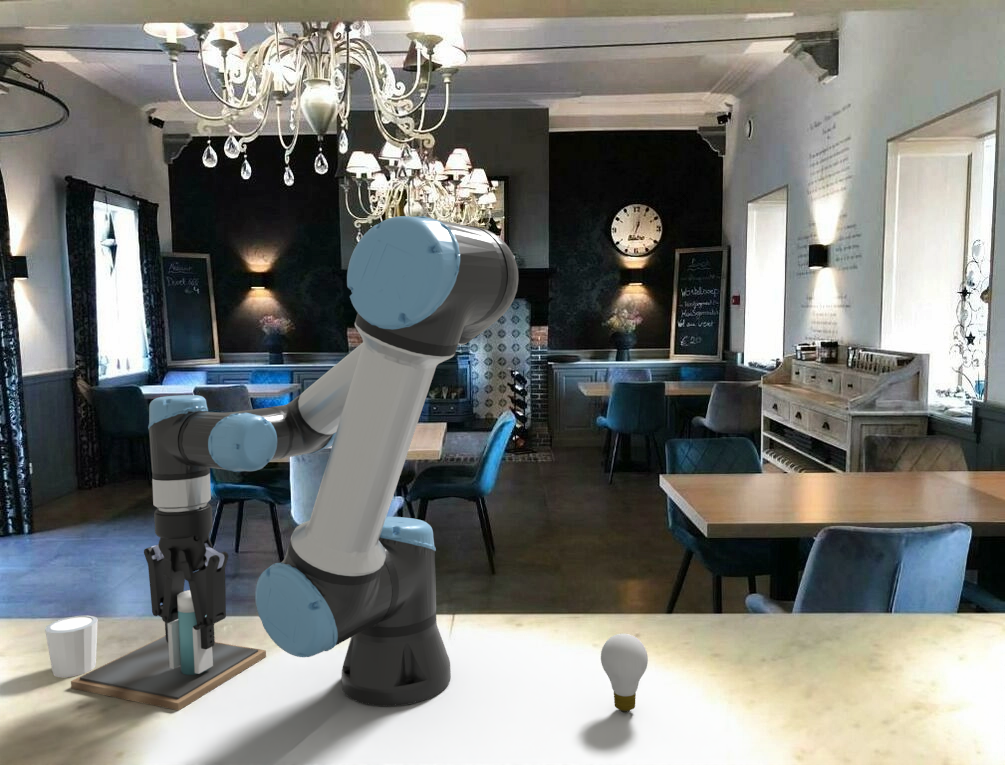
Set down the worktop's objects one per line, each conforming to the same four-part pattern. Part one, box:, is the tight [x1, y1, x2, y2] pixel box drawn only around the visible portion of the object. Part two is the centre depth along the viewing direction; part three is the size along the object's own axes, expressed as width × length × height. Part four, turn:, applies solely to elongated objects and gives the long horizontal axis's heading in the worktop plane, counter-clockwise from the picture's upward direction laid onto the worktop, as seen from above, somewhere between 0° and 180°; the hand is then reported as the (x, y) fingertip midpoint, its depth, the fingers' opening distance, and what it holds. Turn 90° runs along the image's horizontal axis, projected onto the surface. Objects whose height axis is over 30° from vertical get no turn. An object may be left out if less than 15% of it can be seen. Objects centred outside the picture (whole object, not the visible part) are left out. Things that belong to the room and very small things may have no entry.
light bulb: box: [600, 633, 649, 714], centre depth 98 cm, size 6×6×10 cm
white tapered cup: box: [44, 615, 98, 678], centre depth 115 cm, size 7×7×7 cm
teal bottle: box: [177, 589, 211, 675], centre depth 111 cm, size 4×4×11 cm
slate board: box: [70, 634, 267, 711], centre depth 113 cm, size 20×18×1 cm
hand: (191, 666), depth 110 cm, fingers closed on teal bottle, 4 cm apart
